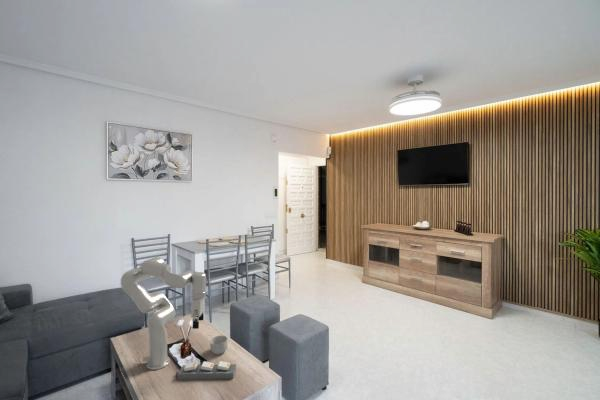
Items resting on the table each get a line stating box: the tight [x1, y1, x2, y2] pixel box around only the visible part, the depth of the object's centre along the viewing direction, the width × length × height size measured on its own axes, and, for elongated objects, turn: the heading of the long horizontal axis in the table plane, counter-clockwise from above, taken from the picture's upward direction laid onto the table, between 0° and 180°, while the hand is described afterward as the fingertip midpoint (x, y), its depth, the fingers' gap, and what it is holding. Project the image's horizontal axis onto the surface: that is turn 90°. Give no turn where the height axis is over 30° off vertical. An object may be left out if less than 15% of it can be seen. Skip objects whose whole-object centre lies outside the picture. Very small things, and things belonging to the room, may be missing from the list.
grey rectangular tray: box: [176, 363, 237, 381], centre depth 159 cm, size 32×8×4 cm, turn 92°
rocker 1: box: [184, 361, 199, 371], centre depth 158 cm, size 6×4×2 cm
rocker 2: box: [201, 360, 215, 371], centre depth 159 cm, size 6×4×2 cm
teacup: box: [209, 333, 228, 355], centre depth 183 cm, size 14×11×8 cm
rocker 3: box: [217, 360, 231, 370], centre depth 159 cm, size 6×4×2 cm
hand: (198, 324), depth 162 cm, fingers open, 9 cm apart
